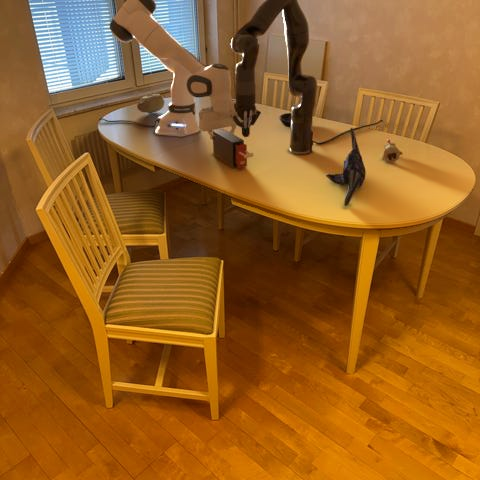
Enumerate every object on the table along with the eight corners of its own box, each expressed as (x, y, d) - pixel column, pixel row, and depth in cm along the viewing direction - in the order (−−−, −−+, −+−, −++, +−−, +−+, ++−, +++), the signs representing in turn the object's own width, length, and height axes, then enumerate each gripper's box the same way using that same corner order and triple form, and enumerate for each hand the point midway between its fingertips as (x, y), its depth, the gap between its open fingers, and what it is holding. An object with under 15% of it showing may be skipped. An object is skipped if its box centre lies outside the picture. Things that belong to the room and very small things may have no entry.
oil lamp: (318, 124, 235) (319, 114, 232) (294, 132, 223) (295, 123, 221) (297, 118, 244) (297, 109, 241) (272, 126, 233) (273, 116, 230)
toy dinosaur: (322, 221, 166) (364, 220, 161) (316, 196, 154) (360, 194, 149) (331, 147, 185) (368, 144, 180) (325, 120, 173) (365, 116, 168)
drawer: (254, 170, 183) (254, 149, 178) (245, 172, 181) (245, 151, 176) (227, 153, 199) (226, 133, 194) (219, 155, 197) (218, 135, 192)
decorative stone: (145, 118, 248) (142, 100, 243) (134, 114, 255) (131, 96, 250) (169, 111, 258) (167, 94, 253) (158, 108, 265) (156, 90, 260)
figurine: (404, 161, 186) (401, 150, 199) (400, 144, 183) (397, 134, 196) (383, 167, 189) (381, 155, 202) (379, 151, 186) (377, 140, 199)
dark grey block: (244, 165, 190) (243, 140, 184) (233, 167, 188) (232, 142, 182) (224, 152, 203) (223, 128, 197) (213, 154, 201) (212, 130, 195)
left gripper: (202, 111, 180) (204, 143, 187) (245, 103, 188) (245, 135, 196) (195, 107, 184) (197, 139, 192) (238, 100, 193) (238, 131, 200)
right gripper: (235, 96, 162) (236, 142, 171) (265, 91, 167) (265, 136, 177) (225, 92, 167) (226, 136, 176) (255, 87, 173) (254, 130, 182)
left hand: (222, 137), depth 194 cm, fingers open, 8 cm apart
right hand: (245, 136), depth 176 cm, fingers closed
